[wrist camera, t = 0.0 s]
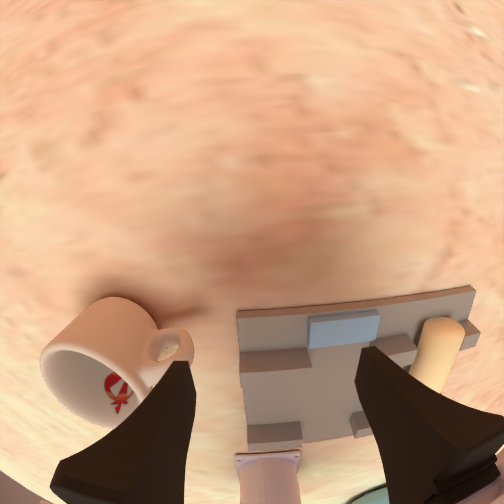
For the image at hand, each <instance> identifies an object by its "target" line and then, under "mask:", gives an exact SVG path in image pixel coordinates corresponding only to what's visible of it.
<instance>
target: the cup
mask: <svg viewBox="0 0 504 504" xmlns="http://www.w3.org/2000/svg"><path fill="white" fill-rule="evenodd" d="M176 344H179V347H178V349H177V351H176V353H175V354H174V355H172V356H171V357H170V358H168V359H166V360H163V361H159V362H157V360H158V357H159V355H160V353H161V352H162V351H163V350H164V349H165V348H167V347H169V346H172V345H176ZM193 358H194V345H193V341H192V339H191V337H190V335H189V333H188V332H187V331H186V330H184V329H182V328H179V327H171V328H165V329H160V330H158V329H157V326H156V324H155V322H154V321H153V319H152V317H151V316H150V315H149V314H148V313H147V312H146V311H145V310H144V309H143V308H142V307H141V306H139V305H138V304H136V303H134V302H132V301H130V300H128V299H125V298H120V297H107V298H103V299H100V300H98V301H96V302H94V303H93V304H91V305H90V306H89V307H88V308H87V309H85V310H84V311H83V312H82V313H81V314H80V315H79V316H78V317H77V318H75V319H74V320H73V321H72V322H71V323H70V324H69V325H68V326H67V327H66V328H65V329H64V330H62V331H61V332H60V333H59V334H58V335H57V336H56V337H55V338H54V339H53V340H52V341H51V342H50V343H49V344H48V345H47V346H46V347H45V348H44V350H43V351H42V353H41V357H40V370H41V374H42V377H43V379H44V381H45V383H46V385H47V387H48V388H49V390H50V391H51V392H52V394H53V395H54V396H55V397H56V398H57V399H58V401H59V402H60V403H62V404H63V405H64V406H65V407H66V408H67V409H69V410H70V411H71V412H73V413H74V414H76V415H77V416H79V417H81V418H82V419H84V420H86V421H88V422H90V423H93V424H95V425H98V426H101V427H105V428H110V429H115V428H116V427H117V426H118V425H119V424H121V423H122V422H123V421H124V420H125V419H126V418H127V417H128V416H129V415H130V414H131V413H132V412H133V411H134V410H135V409H136V408H137V407H138V406H139V405H140V403H141V402H142V401H143V400H144V399H145V398H146V397H147V395H148V394H149V393H150V392H151V390H152V389H153V385H156V384H157V383H158V381H159V380H160V379H161V377H162V376H163V375H164V373H165V372H166V370H167V369H168V368H169V366H170V365H171V363H172V362H173V361H188V362H189V366H191V364H192V361H193Z"/></svg>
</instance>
